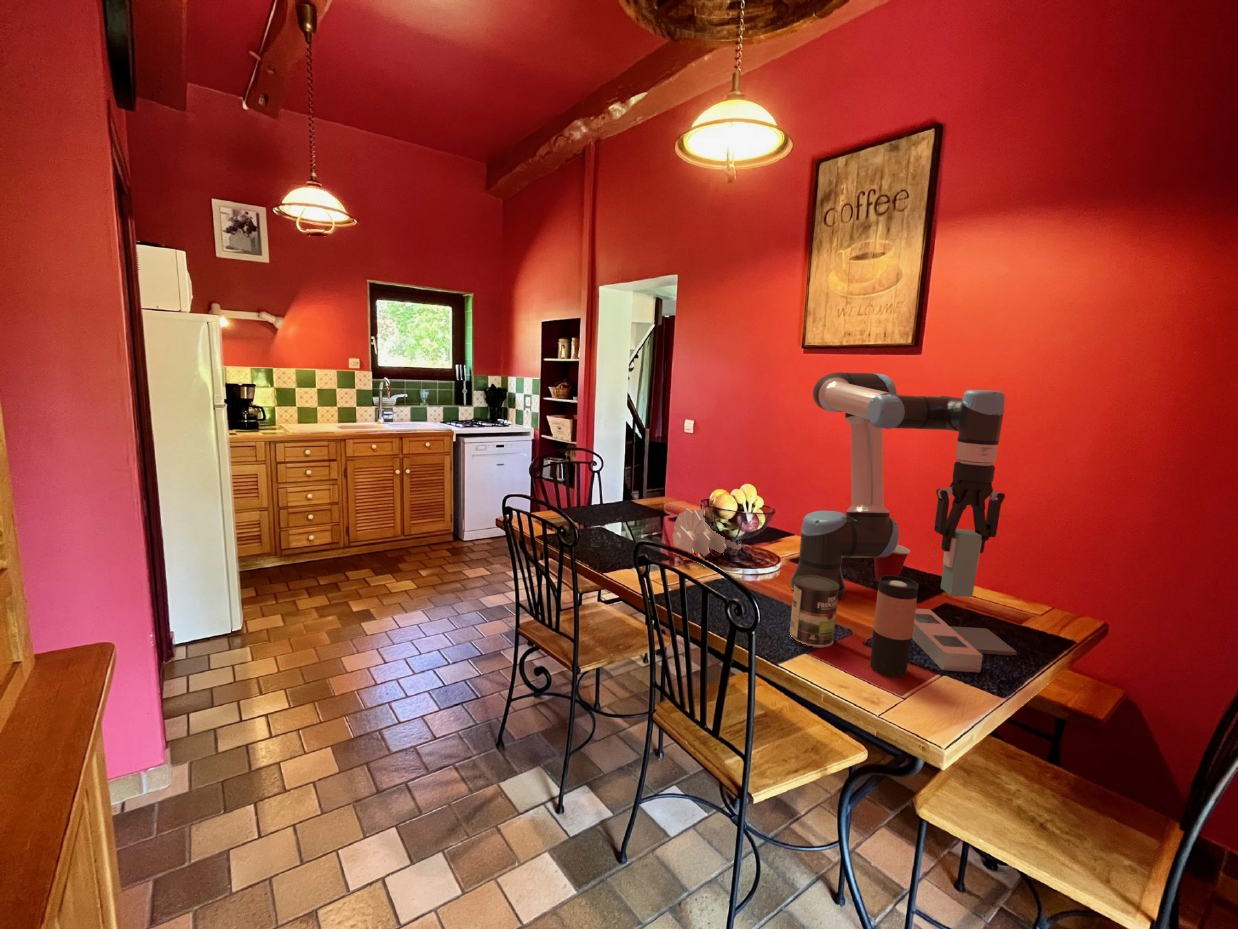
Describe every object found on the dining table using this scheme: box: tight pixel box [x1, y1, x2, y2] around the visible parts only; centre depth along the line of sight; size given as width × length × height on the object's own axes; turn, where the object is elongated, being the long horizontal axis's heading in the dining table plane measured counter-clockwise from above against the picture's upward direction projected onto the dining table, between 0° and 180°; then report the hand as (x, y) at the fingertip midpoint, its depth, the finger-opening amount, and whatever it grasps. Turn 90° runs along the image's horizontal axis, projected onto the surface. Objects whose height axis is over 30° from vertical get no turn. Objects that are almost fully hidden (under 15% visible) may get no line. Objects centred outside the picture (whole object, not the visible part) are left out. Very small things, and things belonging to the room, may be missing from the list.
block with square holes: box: [912, 608, 984, 673], centre depth 135 cm, size 8×24×4 cm, turn 177°
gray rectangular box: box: [940, 528, 982, 598], centre depth 126 cm, size 5×5×14 cm
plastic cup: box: [873, 544, 911, 583], centre depth 175 cm, size 11×11×12 cm
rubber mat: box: [950, 626, 1018, 656], centre depth 138 cm, size 12×12×1 cm
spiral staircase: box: [671, 506, 742, 557], centre depth 192 cm, size 18×18×25 cm
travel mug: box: [869, 575, 919, 678], centre depth 122 cm, size 8×8×20 cm
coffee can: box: [789, 575, 840, 649], centre depth 136 cm, size 10×10×14 cm
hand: (959, 565), depth 126 cm, fingers closed on gray rectangular box, 5 cm apart
